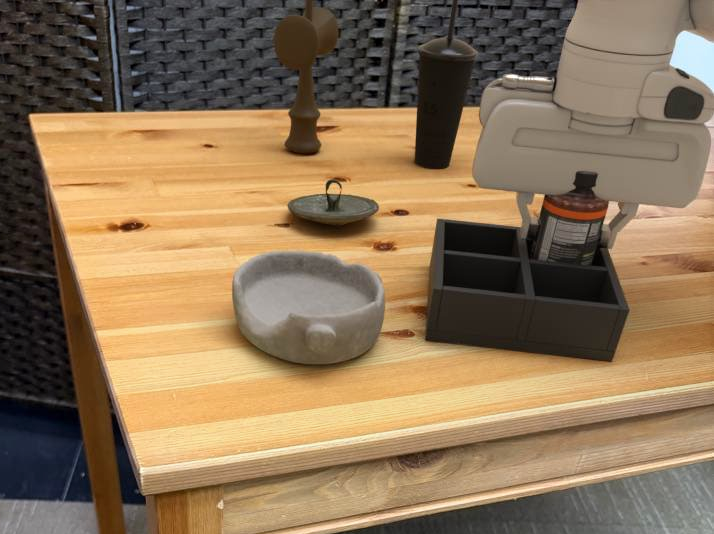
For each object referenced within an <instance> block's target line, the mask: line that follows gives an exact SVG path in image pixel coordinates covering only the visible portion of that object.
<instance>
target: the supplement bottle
mask: <svg viewBox="0 0 714 534" xmlns="http://www.w3.org/2000/svg"><path fill="white" fill-rule="evenodd" d="M597 177H598V173H595V172H587V171H577V172H576V175H575V180H574V182H573V185H575V187H576V188H575V189H573V190H571V191H569V192H567V193H565V194H561V195H556V196H553V195H543V199H542V205H541V207H540V211H539V216H538V218H539V223H540V225H539V229H538V232H537V238H536V241H534V242H533V246H532V250H531V254H530V258H529V259H534V260H543V261H552V262H562V263H571V264H580V265H590V266H591V264H592V261H593V257H594V254H595V250H596V247H597V244H598V240H599V237H600V233H601V230H602V226H603V224H605V223H604V222H605V219H606V216H607V212H608V209H609V204H610V201H605V200H603V199H601V198H599V197H597V196H596V195H595V194H594V191H593V190H592V187H595V186H596V180H597Z"/></svg>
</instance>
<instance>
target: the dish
mask: <svg viewBox="0 0 714 534" xmlns="http://www.w3.org/2000/svg"><path fill="white" fill-rule="evenodd" d="M231 282H232V283H231V299H232V306H233V307H232V308H233V313H234V316H235V319H236V323H237V326H238V328H239V330H240V332H241V333H242V335H243V336H244V337H245V339H246V340H248V341H249V342H250V343H251V344H252V345H254V346H255V347H256V348H258V349H260V350H261V351H263V352H265V353H267V354H269V355H271V356H273V357H276V358H279V359H282V360H285V361H288V362H291V363H298V364H305V365H331V364H336V363H341V362H346V361H348V360H351V359H354V358H356V357H359V356H361V355H363V354H364V353H366V352H367V351H368V350H369V349H371V348H372V347H373V346H374V345H375V343H376V342H377V340H378V339H379V336H380V334H381V331H382V328H383V323H384V320H385V319H384V317H385V312H386V311H385V309H386V292H385V288H384V284H383V280H382V277H381V276H380V274H379V273H378V272H376V271H374V270H372V269H371V268H370V267H368V266H367V265H365V264H364V263H361V262H360V263H359V262H358V263H349V262H346V261H344V260H342V259H340V258H339V257H338V256H337V255H334V254H331V253H328V254H327V253H323V252H321V251H320V252H318V251H306V250H272V251H268V252H264V253H260V254H257V255H256V256H253V257H251V258H249V259H248V260H247V261H246V260H245V262H242V264H241V265H240V266H239V267H238V268H237V269H236V270H235V272H234V275H233V277H232V281H231Z"/></svg>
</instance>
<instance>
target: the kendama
mask: <svg viewBox="0 0 714 534" xmlns="http://www.w3.org/2000/svg"><path fill="white" fill-rule="evenodd" d="M339 34H340V33H339V23H338V21H337V19H336V15H335V14H334V13H332V12H331V11H330V10H329V9H327V8H324V7H321V6H315V7H314V0H305V10H304V12H303V14H302V15H299V14H290V15H289V14H288V15H286V16H285V17H283V18H282V19H280V20H279V21H278V23H277V25H276V27H275V29H274V35H273V49H274V53H275V55H276V57H277V60H278V62H279V63H281V64H282V65H283V66H284V67H286V68H287V69H290V70H293V71H299V74H298V82H297V87H296V93H295V98H294V101H293V105H292V106H291V108H290V109H289V110H288V112H287V114H288V117H289V118H290V129H289V134H288V137H287V138H286V140H285V141H284V147H285V148H286V149H287V150H289V151H291V152H293V153H298V154H312V153H315V152H317V151H319V150H320V149H321V148H322V143H321V141H320V139H319V137H318V133H317V132H318V131H317V130H318V129H317V126H318V120H319V119H320V117H321V112H320V110H319V109H318V107H317V103H316V99H315V97H316V96H315V88H314V87H315V86H314V73H313V64H314V63H315V61H316V59H317V58H318V56H326V55H328V54H330V53H332V52H333V50H334V49H335V47H336V46H337V44H338V39H339Z"/></svg>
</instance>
